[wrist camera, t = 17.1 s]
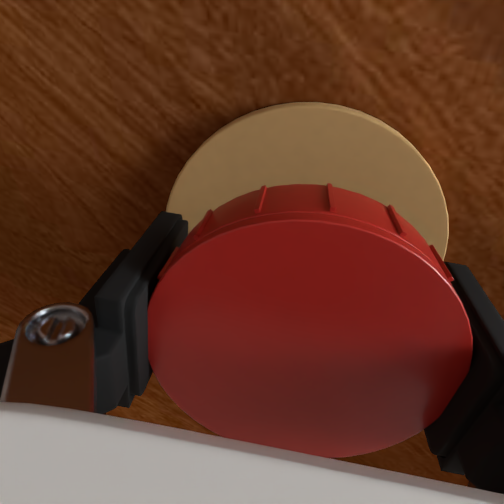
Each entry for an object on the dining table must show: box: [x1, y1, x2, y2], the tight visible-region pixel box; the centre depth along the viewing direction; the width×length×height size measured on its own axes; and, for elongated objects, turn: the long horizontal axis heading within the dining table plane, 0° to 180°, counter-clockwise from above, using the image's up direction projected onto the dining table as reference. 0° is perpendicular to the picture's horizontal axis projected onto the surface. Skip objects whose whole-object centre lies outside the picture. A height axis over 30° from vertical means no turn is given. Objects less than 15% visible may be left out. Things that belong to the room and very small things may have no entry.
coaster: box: [166, 102, 449, 260], centre depth 12 cm, size 9×9×1 cm
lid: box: [148, 183, 473, 458], centre depth 9 cm, size 7×7×2 cm
